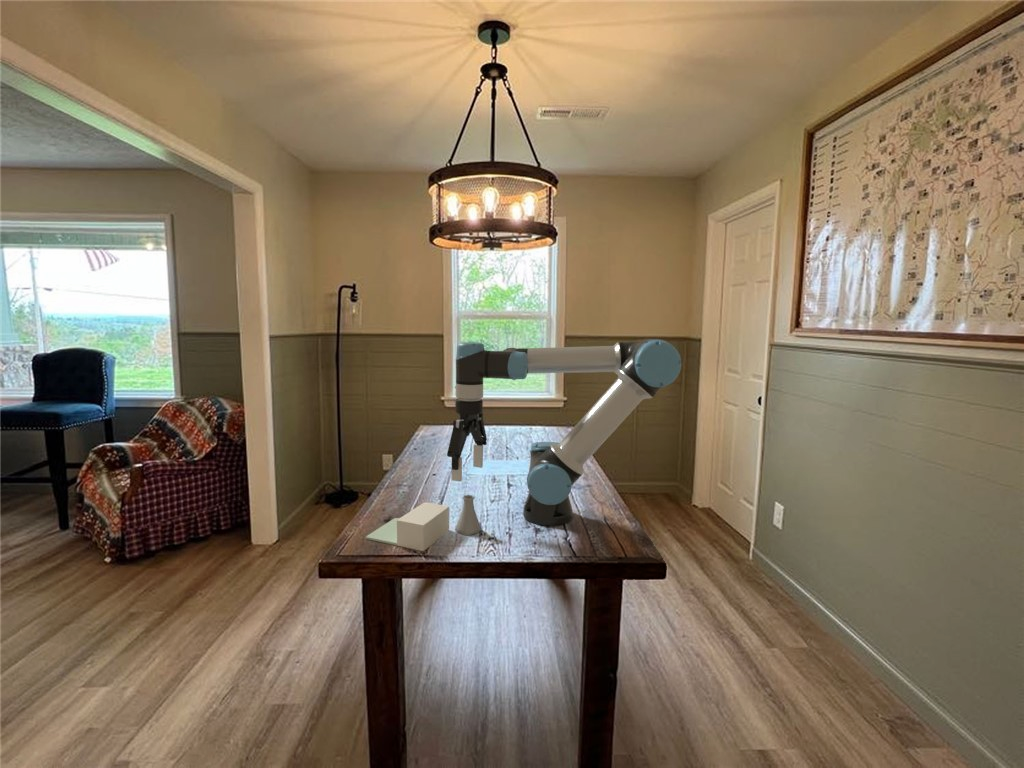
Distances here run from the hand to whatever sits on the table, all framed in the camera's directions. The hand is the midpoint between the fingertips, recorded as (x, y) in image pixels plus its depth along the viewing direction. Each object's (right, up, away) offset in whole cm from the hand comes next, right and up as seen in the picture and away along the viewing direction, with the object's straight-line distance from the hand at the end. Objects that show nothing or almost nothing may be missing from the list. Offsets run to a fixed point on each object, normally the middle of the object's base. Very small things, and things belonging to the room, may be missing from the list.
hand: (467, 473), depth 135 cm
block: (-12, -17, -3) cm, 21 cm away
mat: (-20, -16, 0) cm, 26 cm away
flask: (0, -17, +2) cm, 17 cm away
